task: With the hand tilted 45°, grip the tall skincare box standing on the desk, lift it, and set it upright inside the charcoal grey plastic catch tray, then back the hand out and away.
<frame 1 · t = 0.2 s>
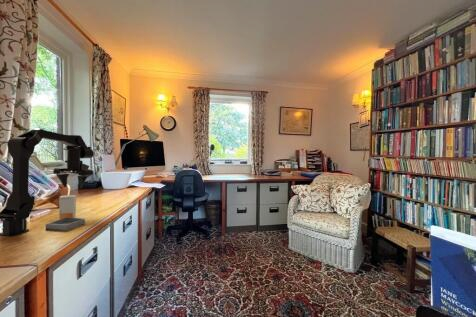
hand: (73, 187, 120), 15 cm above the table, tool pointing down, fingers open, 9 cm apart
catch tray: (66, 226, 102), on the table
skincare box: (67, 220, 112), on the table
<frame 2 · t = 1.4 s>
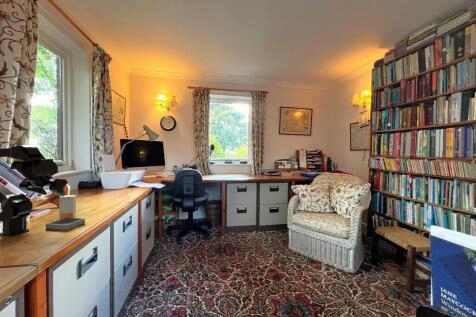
hand: (55, 194, 105), 14 cm above the table, tool tilted 45°, fingers open, 9 cm apart
nothing on the table moved.
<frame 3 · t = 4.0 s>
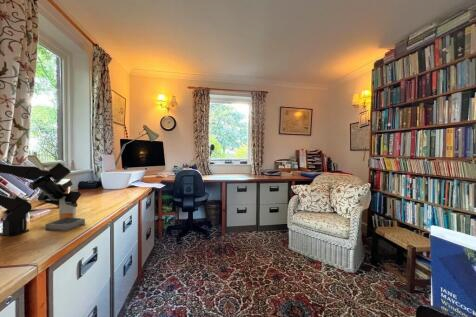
hand: (70, 205, 113), 7 cm above the table, tool tilted 45°, fingers closed on skincare box, 7 cm apart
skincare box: (67, 220, 112), on the table, touching gripper
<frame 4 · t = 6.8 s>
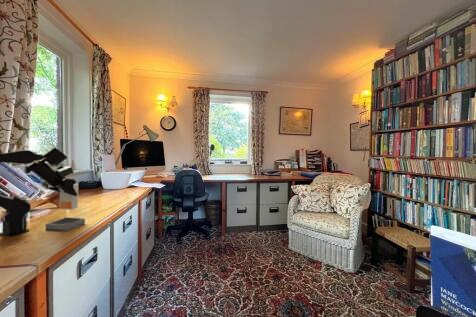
hand: (72, 194, 109), 13 cm above the table, tool tilted 45°, fingers closed on skincare box, 7 cm apart
skincare box: (68, 209, 108), point 6 cm above the table, touching gripper
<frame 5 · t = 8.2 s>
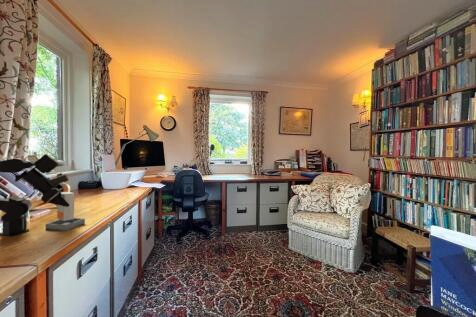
hand: (69, 204, 102), 10 cm above the table, tool tilted 45°, fingers closed on skincare box, 7 cm apart
skincare box: (65, 219, 102), point 3 cm above the table, touching gripper
when the fingers open (8 cm above the table, at t = 9.1 s): skincare box drops 1 cm, resting on catch tray.
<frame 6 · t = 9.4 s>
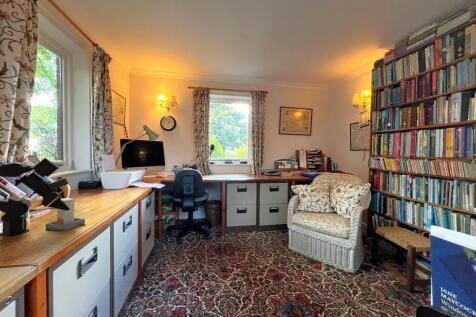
hand: (69, 207, 103), 9 cm above the table, tool tilted 45°, fingers open, 9 cm apart
skincare box: (65, 225, 102), resting on catch tray
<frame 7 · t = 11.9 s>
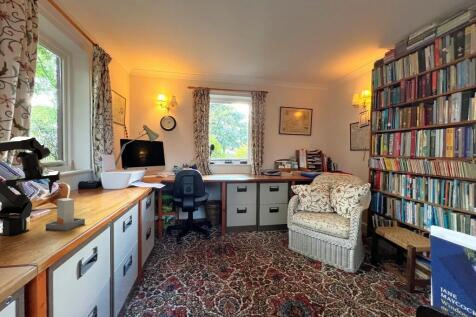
hand: (38, 194, 106), 13 cm above the table, tool tilted 15°, fingers open, 9 cm apart
nothing on the table moved.
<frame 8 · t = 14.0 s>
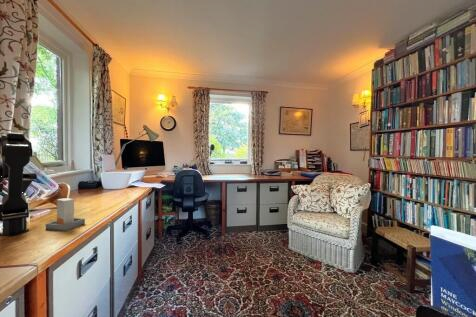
hand: (11, 196, 102), 13 cm above the table, tool pointing down, fingers open, 9 cm apart
nothing on the table moved.
at the end: skincare box 0.2 cm off-centre on the catch tray, point 0.4 cm above the catch tray's base; skincare box tilted 0°; the gripper is holding nothing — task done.
